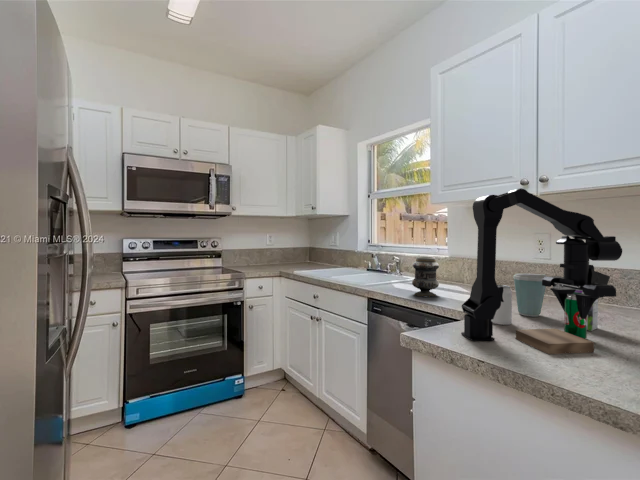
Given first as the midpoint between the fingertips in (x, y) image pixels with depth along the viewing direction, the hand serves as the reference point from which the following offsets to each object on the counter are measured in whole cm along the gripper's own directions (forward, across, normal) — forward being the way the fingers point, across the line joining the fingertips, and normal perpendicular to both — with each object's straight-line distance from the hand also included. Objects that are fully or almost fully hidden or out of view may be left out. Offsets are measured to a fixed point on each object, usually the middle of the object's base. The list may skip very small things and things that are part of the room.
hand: (575, 316), depth 95 cm
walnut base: (+6, -5, +11) cm, 14 cm away
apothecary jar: (+6, +66, +16) cm, 68 cm away
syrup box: (+6, +9, -11) cm, 15 cm away
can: (+6, +17, +11) cm, 21 cm away
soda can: (+6, 0, 0) cm, 6 cm away
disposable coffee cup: (+6, +26, -6) cm, 27 cm away
